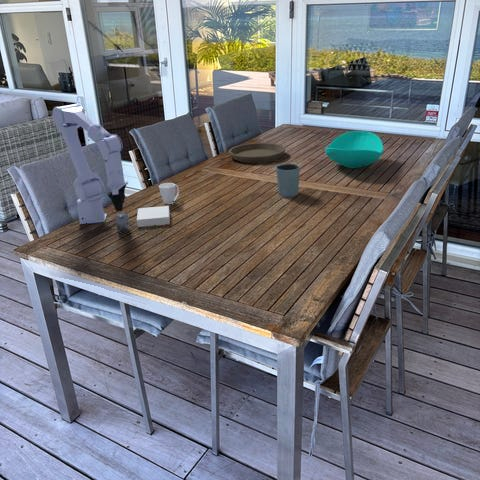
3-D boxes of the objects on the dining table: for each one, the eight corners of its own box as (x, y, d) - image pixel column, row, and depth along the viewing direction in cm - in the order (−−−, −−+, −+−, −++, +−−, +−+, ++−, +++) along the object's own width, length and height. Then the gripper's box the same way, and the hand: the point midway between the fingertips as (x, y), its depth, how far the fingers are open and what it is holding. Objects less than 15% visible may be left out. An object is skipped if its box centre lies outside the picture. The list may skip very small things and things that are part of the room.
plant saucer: (220, 155, 270) (220, 147, 268) (268, 147, 281) (268, 139, 279) (244, 168, 244) (243, 159, 242) (296, 159, 255) (296, 150, 254)
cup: (157, 204, 201) (155, 186, 197) (173, 197, 208) (171, 179, 204) (169, 207, 197) (167, 188, 193) (185, 200, 204) (183, 182, 201)
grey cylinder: (117, 233, 175) (114, 218, 172) (118, 228, 179) (115, 214, 176) (129, 232, 175) (127, 217, 173) (130, 227, 179) (128, 212, 177)
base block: (137, 227, 179) (136, 219, 178) (139, 215, 190) (138, 208, 189) (169, 224, 181) (169, 216, 179) (169, 212, 191) (168, 205, 190)
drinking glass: (298, 197, 201) (298, 170, 196) (274, 197, 203) (274, 169, 198) (300, 190, 210) (300, 163, 205) (277, 189, 212) (277, 163, 207)
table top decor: (376, 180, 217) (378, 151, 212) (316, 175, 227) (317, 148, 221) (386, 157, 250) (388, 132, 245) (333, 154, 260) (334, 129, 254)
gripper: (124, 175, 161) (130, 213, 167) (127, 164, 174) (132, 199, 180) (103, 177, 160) (109, 215, 166) (107, 165, 173) (113, 200, 179)
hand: (120, 207), depth 173 cm, fingers open, 7 cm apart
